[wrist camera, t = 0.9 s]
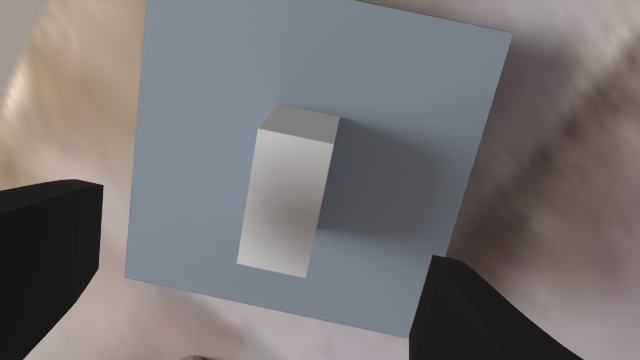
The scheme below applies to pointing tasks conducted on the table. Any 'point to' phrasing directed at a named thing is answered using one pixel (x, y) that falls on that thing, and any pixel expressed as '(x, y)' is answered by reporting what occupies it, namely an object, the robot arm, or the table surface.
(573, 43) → the table surface
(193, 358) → the egg carton
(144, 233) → the lid
